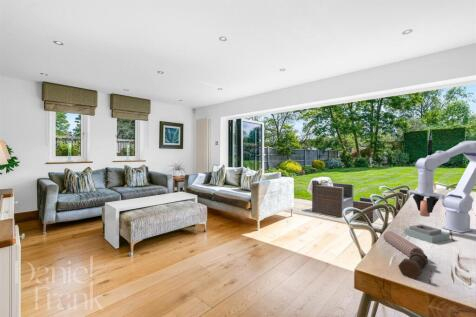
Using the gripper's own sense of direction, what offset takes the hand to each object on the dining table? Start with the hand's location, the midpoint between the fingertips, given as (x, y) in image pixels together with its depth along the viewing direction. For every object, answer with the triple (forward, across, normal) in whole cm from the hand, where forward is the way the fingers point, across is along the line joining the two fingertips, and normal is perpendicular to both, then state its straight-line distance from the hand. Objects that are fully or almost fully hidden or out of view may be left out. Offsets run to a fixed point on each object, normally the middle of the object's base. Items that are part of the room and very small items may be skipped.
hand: (425, 211), depth 111 cm
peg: (+2, 0, 0) cm, 2 cm away
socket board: (+9, +6, -9) cm, 14 cm away
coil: (+9, +11, -33) cm, 36 cm away
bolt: (+9, +23, -44) cm, 50 cm away
